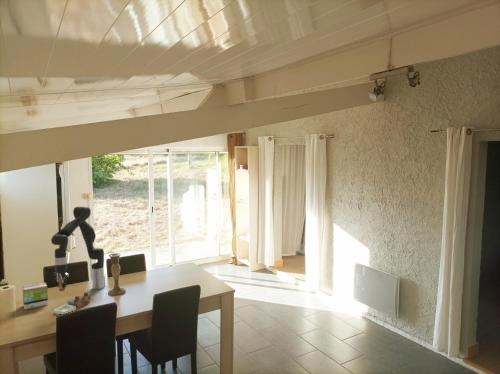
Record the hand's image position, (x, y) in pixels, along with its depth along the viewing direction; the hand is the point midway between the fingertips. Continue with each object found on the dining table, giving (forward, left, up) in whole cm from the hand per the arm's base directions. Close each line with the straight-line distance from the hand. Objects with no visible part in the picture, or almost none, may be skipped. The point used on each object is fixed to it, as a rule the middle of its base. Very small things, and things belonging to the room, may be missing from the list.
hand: (62, 287), depth 254 cm
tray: (0, +1, -18) cm, 18 cm away
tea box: (0, -29, -18) cm, 34 cm away
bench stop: (-13, +3, -18) cm, 22 cm away
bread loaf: (0, 0, -2) cm, 2 cm away
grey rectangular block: (-13, -2, -18) cm, 22 cm away
